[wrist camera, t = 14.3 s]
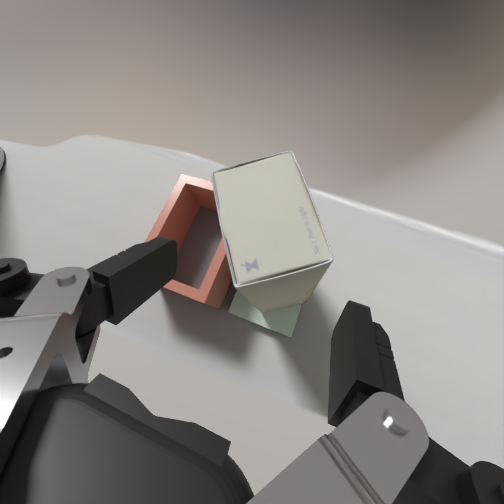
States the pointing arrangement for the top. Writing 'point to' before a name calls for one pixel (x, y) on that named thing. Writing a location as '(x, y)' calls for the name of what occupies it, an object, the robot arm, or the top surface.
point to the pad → (266, 315)
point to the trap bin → (195, 241)
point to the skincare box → (271, 231)
